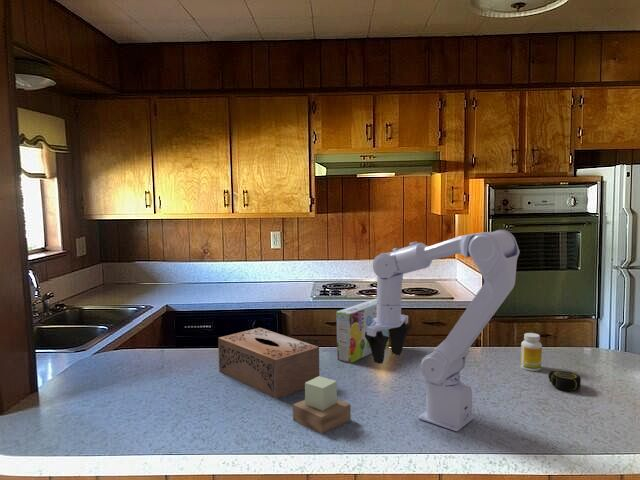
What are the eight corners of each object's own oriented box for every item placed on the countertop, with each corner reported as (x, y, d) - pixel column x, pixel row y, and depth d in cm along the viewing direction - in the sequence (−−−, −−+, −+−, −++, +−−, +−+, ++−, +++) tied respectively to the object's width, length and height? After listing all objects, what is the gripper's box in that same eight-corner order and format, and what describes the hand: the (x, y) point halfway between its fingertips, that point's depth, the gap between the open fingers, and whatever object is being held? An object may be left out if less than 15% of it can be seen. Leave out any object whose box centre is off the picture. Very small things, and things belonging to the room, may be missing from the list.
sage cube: (336, 402, 113) (336, 381, 113) (323, 410, 109) (322, 388, 109) (319, 397, 116) (319, 376, 116) (305, 404, 112) (304, 382, 112)
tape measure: (576, 384, 132) (577, 370, 131) (583, 395, 125) (584, 380, 125) (548, 382, 133) (548, 368, 133) (553, 392, 127) (553, 377, 126)
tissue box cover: (319, 383, 134) (319, 346, 133) (276, 399, 124) (275, 360, 123) (260, 360, 153) (260, 327, 152) (219, 372, 143) (218, 337, 142)
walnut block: (350, 421, 113) (350, 404, 112) (321, 435, 107) (321, 417, 106) (321, 409, 119) (321, 392, 119) (293, 421, 113) (292, 404, 113)
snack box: (375, 342, 168) (375, 297, 166) (389, 345, 164) (390, 300, 163) (335, 360, 152) (335, 310, 150) (351, 364, 148) (351, 313, 146)
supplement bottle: (516, 365, 145) (517, 332, 144) (533, 363, 146) (534, 331, 145) (528, 372, 140) (529, 338, 139) (545, 370, 141) (546, 336, 140)
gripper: (391, 294, 128) (390, 347, 130) (356, 305, 117) (355, 362, 119) (416, 299, 123) (414, 353, 125) (382, 311, 112) (380, 370, 114)
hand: (387, 358), depth 121 cm, fingers open, 7 cm apart
